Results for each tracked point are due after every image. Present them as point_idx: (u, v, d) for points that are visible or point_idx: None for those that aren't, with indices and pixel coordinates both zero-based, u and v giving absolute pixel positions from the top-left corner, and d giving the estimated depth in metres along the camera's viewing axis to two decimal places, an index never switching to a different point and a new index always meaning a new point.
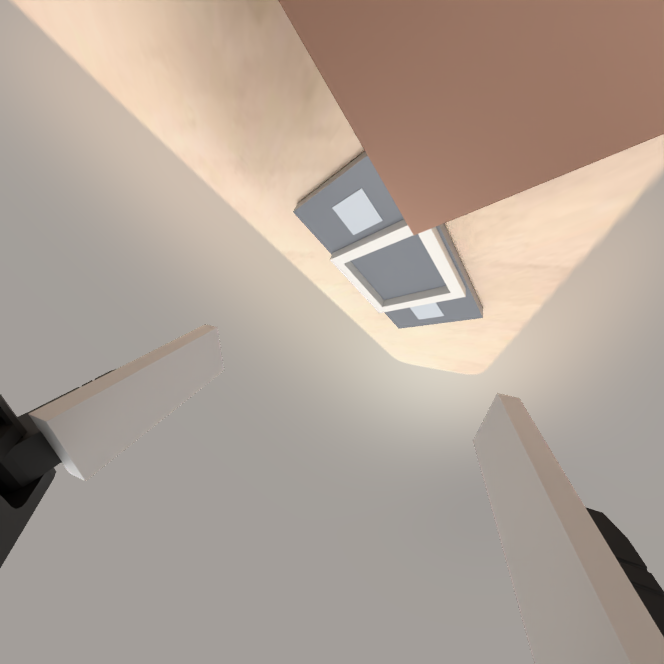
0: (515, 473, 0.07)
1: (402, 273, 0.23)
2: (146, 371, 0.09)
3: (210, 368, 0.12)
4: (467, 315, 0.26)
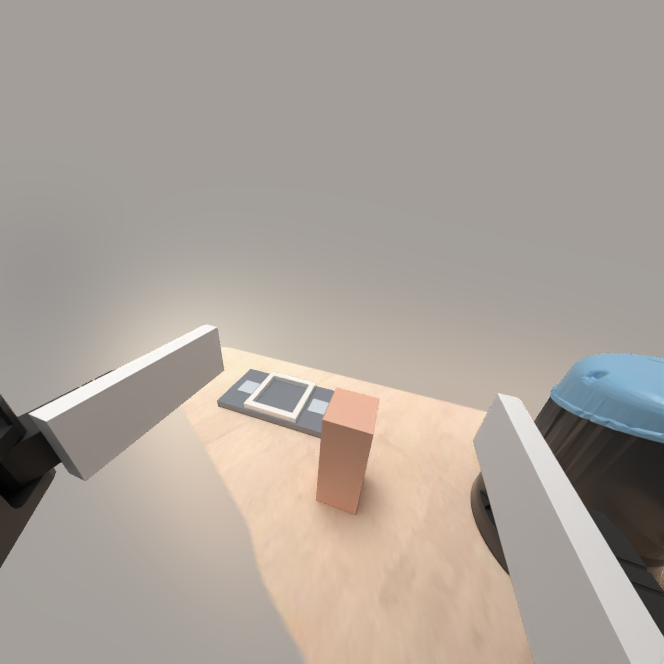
0: (516, 473, 0.07)
1: (279, 396, 0.43)
2: (146, 371, 0.09)
3: (210, 368, 0.12)
4: (226, 396, 0.42)
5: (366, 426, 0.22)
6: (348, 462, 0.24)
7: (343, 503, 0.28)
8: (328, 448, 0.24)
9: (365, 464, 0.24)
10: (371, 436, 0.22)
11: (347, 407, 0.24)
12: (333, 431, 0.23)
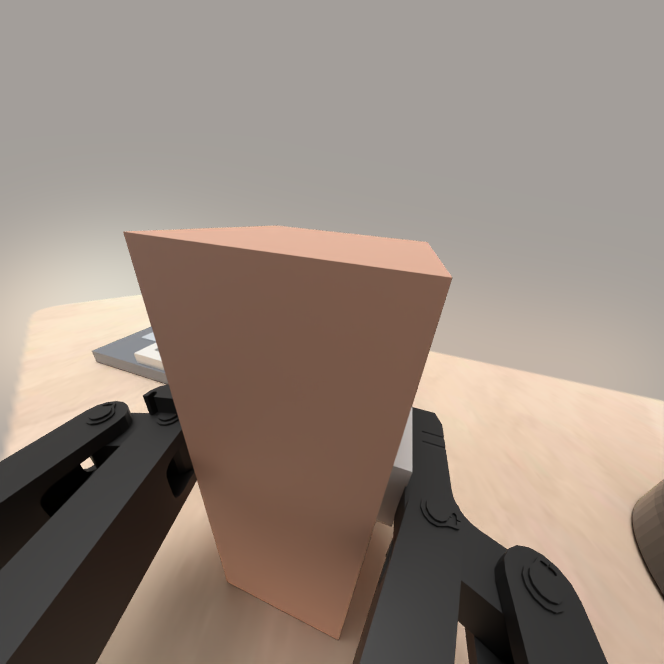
0: None
1: None
2: None
3: None
4: (114, 346, 0.23)
5: (392, 260, 0.03)
6: (296, 482, 0.05)
7: (299, 605, 0.09)
8: (207, 419, 0.05)
9: (376, 497, 0.05)
10: (432, 301, 0.03)
11: (294, 235, 0.05)
12: (199, 311, 0.04)
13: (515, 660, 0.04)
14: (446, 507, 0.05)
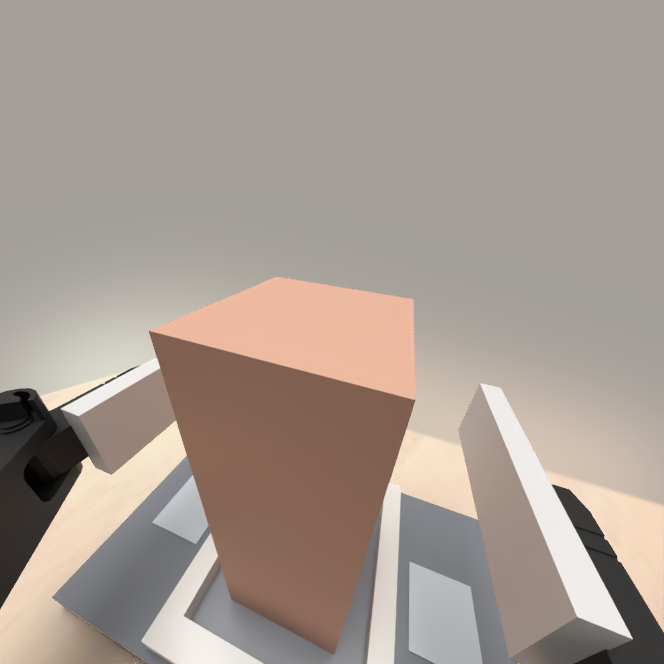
0: (492, 455, 0.07)
1: None
2: None
3: None
4: (99, 567, 0.11)
5: (373, 363, 0.04)
6: (295, 526, 0.06)
7: (297, 623, 0.09)
8: (216, 470, 0.06)
9: (363, 544, 0.05)
10: (401, 413, 0.04)
11: (293, 308, 0.06)
12: (211, 393, 0.05)
13: None
14: None
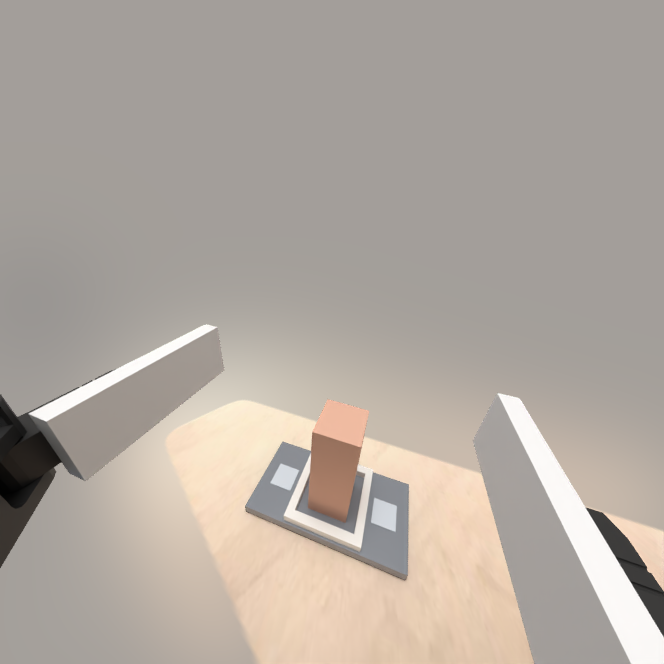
0: (515, 473, 0.07)
1: None
2: (146, 371, 0.09)
3: (210, 368, 0.12)
4: (257, 497, 0.31)
5: (355, 439, 0.23)
6: (337, 472, 0.25)
7: (333, 511, 0.29)
8: (318, 459, 0.25)
9: (354, 475, 0.25)
10: (359, 449, 0.23)
11: (337, 419, 0.25)
12: (323, 443, 0.24)
13: None
14: None
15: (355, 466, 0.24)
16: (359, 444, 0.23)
